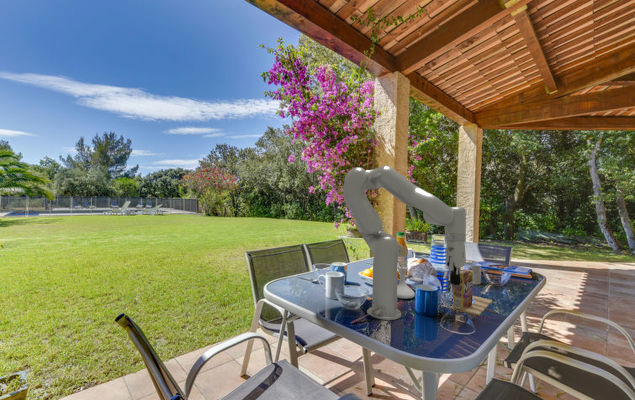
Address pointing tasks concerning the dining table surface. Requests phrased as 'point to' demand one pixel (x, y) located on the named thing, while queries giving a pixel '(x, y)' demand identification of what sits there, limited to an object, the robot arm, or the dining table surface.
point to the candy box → (463, 290)
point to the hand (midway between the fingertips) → (455, 284)
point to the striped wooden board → (475, 306)
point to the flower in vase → (403, 278)
